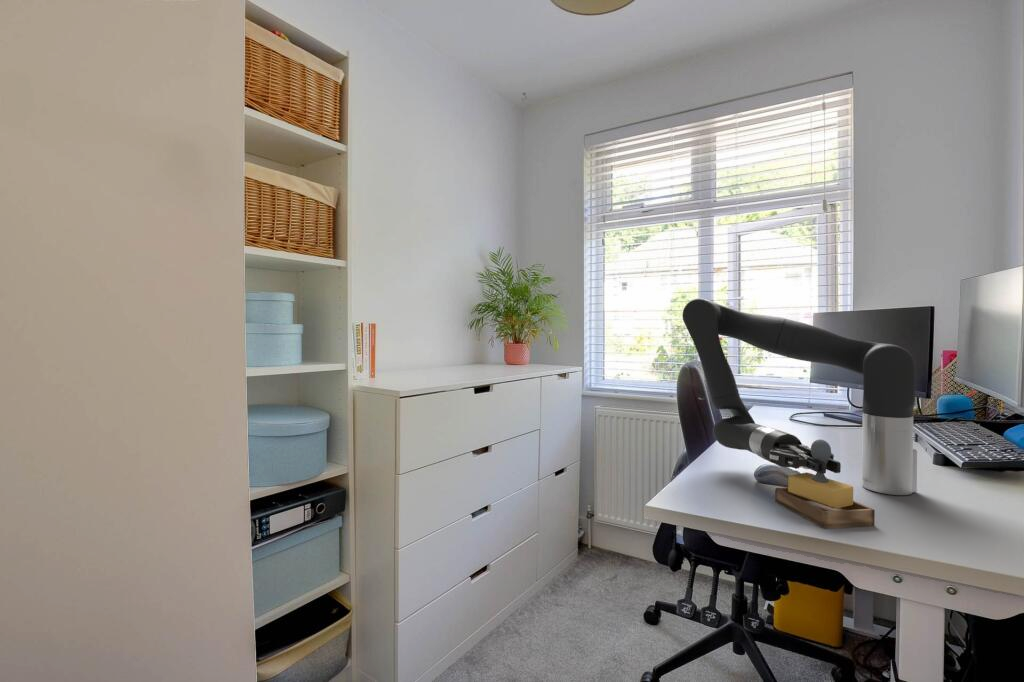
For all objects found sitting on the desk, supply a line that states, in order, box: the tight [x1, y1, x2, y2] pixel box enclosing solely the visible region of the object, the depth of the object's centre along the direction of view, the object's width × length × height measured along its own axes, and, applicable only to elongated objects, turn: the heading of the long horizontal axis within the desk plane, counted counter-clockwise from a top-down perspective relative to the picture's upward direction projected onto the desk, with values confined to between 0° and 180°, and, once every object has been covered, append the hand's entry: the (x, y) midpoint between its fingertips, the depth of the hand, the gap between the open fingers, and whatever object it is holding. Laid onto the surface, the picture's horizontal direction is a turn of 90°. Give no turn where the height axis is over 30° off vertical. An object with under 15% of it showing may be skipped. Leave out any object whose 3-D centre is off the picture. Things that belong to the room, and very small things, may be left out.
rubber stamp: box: [787, 439, 854, 509], centre depth 99 cm, size 10×6×12 cm, turn 23°
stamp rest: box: [774, 486, 876, 530], centre depth 99 cm, size 10×14×3 cm
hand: (831, 468), depth 96 cm, fingers closed on rubber stamp, 2 cm apart
